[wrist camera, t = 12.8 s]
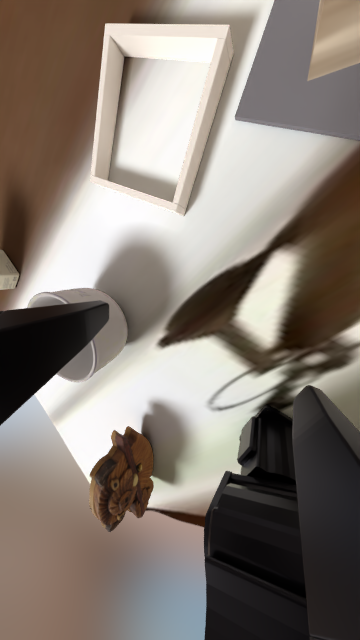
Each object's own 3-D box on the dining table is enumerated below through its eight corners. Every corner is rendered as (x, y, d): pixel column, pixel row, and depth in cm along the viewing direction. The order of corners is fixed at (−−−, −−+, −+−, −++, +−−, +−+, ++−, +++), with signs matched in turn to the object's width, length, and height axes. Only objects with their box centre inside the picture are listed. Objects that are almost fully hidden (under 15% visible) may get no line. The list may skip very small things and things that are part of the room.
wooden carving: (166, 489, 32) (129, 573, 23) (146, 480, 34) (104, 553, 25) (148, 411, 28) (96, 474, 20) (126, 406, 31) (70, 461, 22)
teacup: (117, 271, 24) (55, 274, 17) (151, 345, 25) (106, 377, 18) (65, 308, 31) (6, 321, 24) (93, 365, 31) (44, 393, 24)
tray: (234, 52, 13) (229, 24, 12) (183, 216, 18) (175, 211, 17) (120, 46, 16) (105, 23, 15) (103, 187, 21) (90, 181, 20)
